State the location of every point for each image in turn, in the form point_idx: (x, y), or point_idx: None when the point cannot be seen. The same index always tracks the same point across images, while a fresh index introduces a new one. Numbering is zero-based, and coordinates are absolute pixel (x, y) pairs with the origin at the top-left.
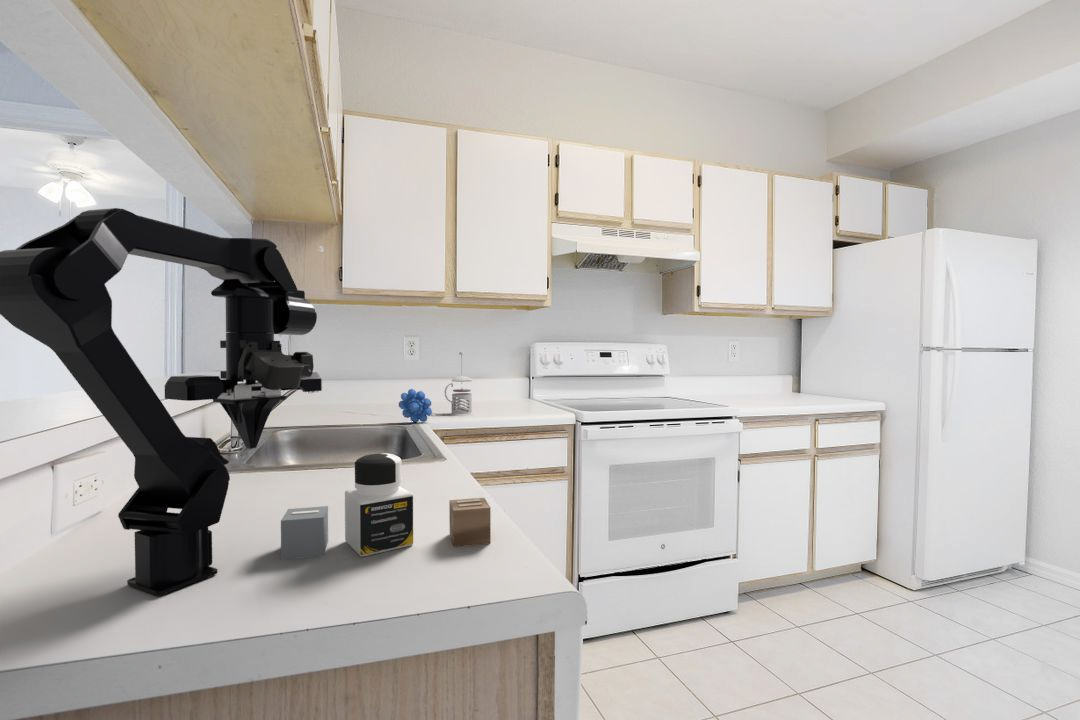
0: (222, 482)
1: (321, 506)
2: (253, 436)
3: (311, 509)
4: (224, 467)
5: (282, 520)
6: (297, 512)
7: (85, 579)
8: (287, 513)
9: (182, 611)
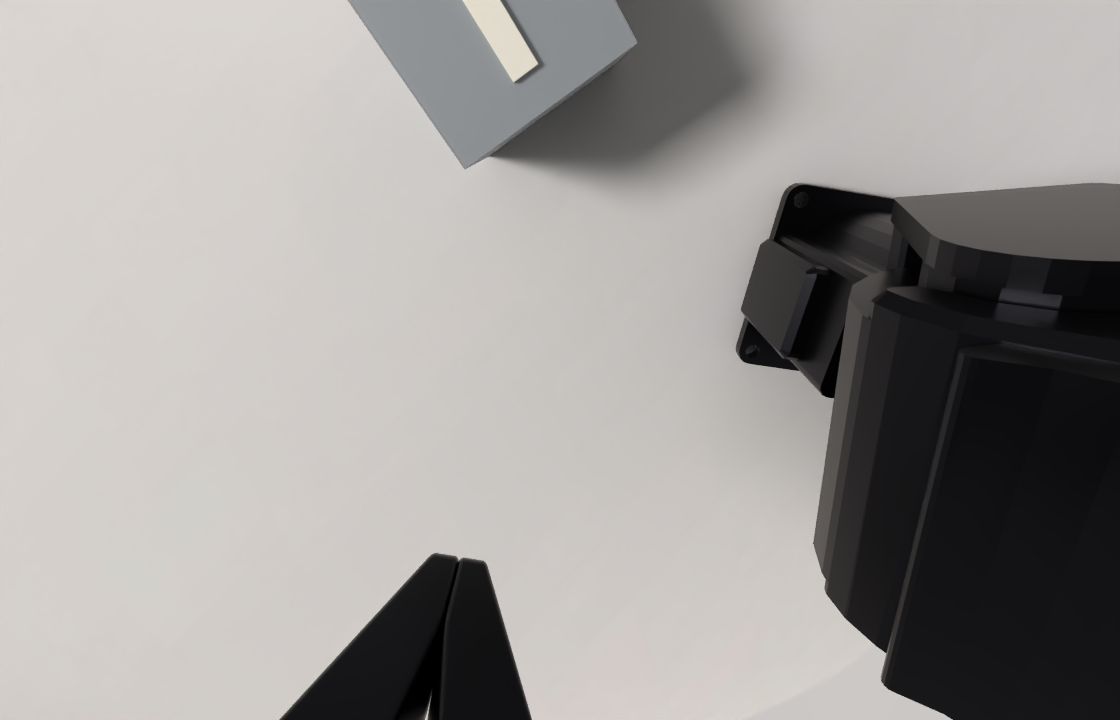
0: (1019, 238)
1: (352, 4)
2: (458, 634)
3: (420, 24)
4: (1005, 321)
5: (631, 37)
6: (509, 46)
7: None
8: (525, 110)
9: (1057, 43)
